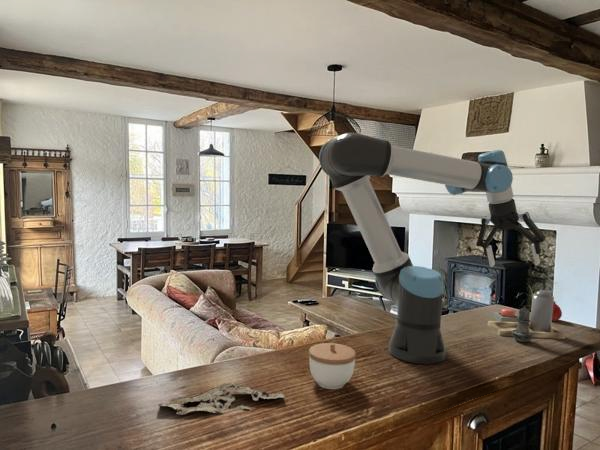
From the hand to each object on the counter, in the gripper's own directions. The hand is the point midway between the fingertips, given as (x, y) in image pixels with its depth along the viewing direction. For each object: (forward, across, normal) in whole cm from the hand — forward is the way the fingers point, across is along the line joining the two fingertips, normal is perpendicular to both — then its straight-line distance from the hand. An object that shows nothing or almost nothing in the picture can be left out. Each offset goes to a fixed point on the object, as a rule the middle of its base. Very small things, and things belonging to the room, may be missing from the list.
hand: (514, 264), depth 143 cm
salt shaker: (+21, -2, +12) cm, 25 cm away
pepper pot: (+24, -3, -1) cm, 24 cm away
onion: (+29, -1, -19) cm, 35 cm away
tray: (+23, +1, +2) cm, 23 cm away
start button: (+22, +8, -7) cm, 24 cm away
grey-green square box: (+24, +9, -6) cm, 26 cm away
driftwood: (-6, +28, +96) cm, 101 cm away
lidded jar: (+1, +20, +73) cm, 76 cm away
